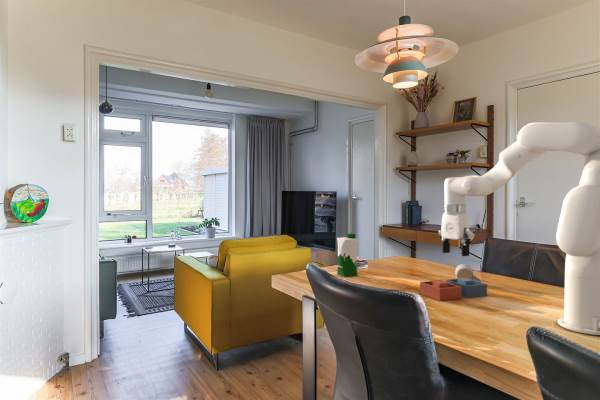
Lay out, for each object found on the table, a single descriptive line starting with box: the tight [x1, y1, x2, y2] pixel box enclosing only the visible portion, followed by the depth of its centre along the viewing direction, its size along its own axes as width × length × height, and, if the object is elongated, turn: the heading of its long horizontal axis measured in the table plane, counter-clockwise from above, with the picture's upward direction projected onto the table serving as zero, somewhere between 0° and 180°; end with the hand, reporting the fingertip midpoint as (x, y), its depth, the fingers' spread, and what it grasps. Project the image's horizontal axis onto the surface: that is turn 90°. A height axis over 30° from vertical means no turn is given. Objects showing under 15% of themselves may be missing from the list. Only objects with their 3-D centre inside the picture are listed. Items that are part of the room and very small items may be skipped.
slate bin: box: [445, 278, 488, 299], centre depth 146 cm, size 11×10×4 cm
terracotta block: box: [431, 279, 449, 288], centre depth 142 cm, size 4×4×5 cm
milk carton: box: [336, 233, 359, 278], centre depth 178 cm, size 9×9×20 cm
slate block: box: [456, 278, 474, 286], centre depth 147 cm, size 4×4×5 cm
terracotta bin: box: [419, 280, 462, 302], centre depth 142 cm, size 11×10×4 cm
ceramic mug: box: [454, 263, 482, 283], centre depth 164 cm, size 11×8×8 cm
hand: (455, 254), depth 139 cm, fingers open, 9 cm apart
